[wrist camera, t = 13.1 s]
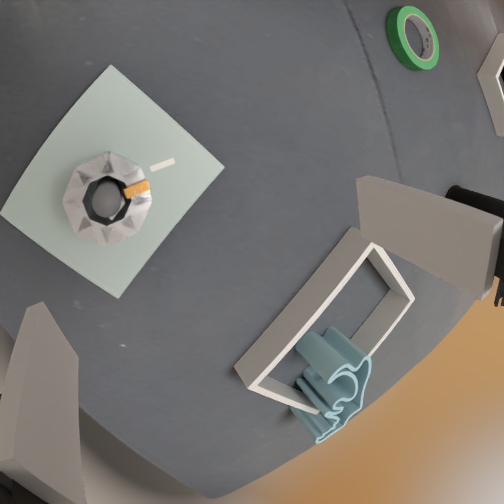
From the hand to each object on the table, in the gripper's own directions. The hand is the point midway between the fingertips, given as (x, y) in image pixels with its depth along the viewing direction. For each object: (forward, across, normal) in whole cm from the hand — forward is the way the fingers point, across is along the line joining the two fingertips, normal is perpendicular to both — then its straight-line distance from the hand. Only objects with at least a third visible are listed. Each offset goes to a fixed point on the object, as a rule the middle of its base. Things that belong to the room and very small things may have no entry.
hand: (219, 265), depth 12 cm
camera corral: (+24, +81, +5) cm, 85 cm away
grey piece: (+22, -4, +1) cm, 22 cm away
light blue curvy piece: (+24, +14, -38) cm, 47 cm away
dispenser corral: (+23, +18, -29) cm, 41 cm away
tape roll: (+24, +43, +12) cm, 51 cm away
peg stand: (+23, -4, +1) cm, 24 cm away
